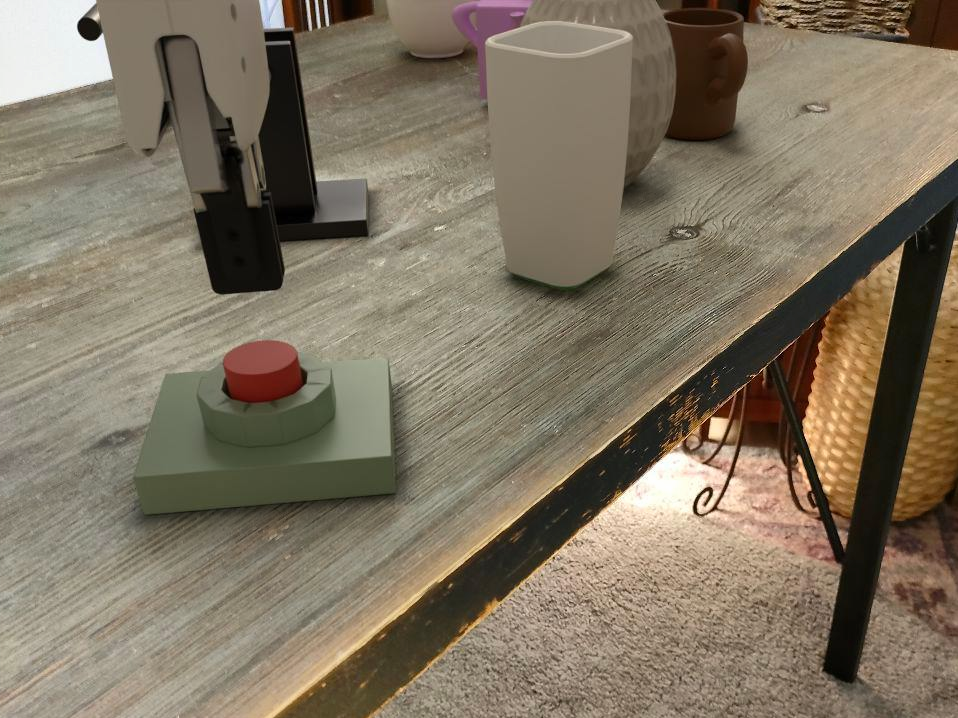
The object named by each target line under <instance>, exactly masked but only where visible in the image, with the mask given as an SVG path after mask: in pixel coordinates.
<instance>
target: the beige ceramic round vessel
mask: <svg viewBox="0 0 958 718" xmlns="http://www.w3.org/2000/svg"><path fill="white" fill-rule="evenodd" d="M474 1H481V0H385V4H386V5H385V6H386V9H387V10H386V11H387V15H388V19H389V23H390V26H391V28H392V30H393V32H394V34H395V37H397V39H398V40H399V42H400V43H401V44H402V45H403V46H405V48H406V49H408V50H409V53H410V55H411V56H414V57H417V58H421V59H422V58H423V59H443V58H451V57H455V56H458V55H460V54H463V52H464V49H465V47H466V46H467V45H468V43H470V41H469V40H468V39H466V38H465V37H464V36H463V35H462V34H461V32H460V31H459V30H458V29H457V27H456V25H455V24H454V22H453V19H452V12H453V10H454V9H455V7H457V6H459V5H461V4H464V3H468V2H474ZM469 19H470V21H471V23H472V25H473V27H474V28H475V29H476V30H477V27H476V11H475V12H472V13H471V14H470V15H469Z"/></svg>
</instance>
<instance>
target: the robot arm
mask: <svg viewBox="0 0 958 718" xmlns="http://www.w3.org/2000/svg"><path fill="white" fill-rule="evenodd" d="M260 2H261V1H260V0H95V4H96V3H97V8H98V12H99V17H100V22H101V26H102V31H103V33H102V36H103V40H104V44H105V48H106V54H107V58H108V62H109V67H110V71H111V76H112V81H113V85H114V90H115V94H116V99H117V103H118V108H119V112H120V117H121V122H122V126H123V130H124V135H125V139H126V141H127V142H126V143H127V145H128V146H129V147H130V149H131V150H132V151H133V152H134V153H136V154H137V155H138V156H140V157H141V158H150V157H152V156H153V155H154V153H155V152H156V150H157V149H158V147H159V145H160V143H161V142H162V139H163V137H164V136H165V133H166V132H167V129H168V128H169V126H170V124H171V127H172V129H173V133H174V138H175V142H176V145H177V149H178V153H179V157H180V160H181V164H182V167H183V168H182V169H183V171H184V175H185V178H186V182H187V186H188V190H189V193H190V197H191V202H192V206H193V213H194V218H195V222H196V226H197V229H198V230H197V231H198V235H199V239H200V244H201V248H202V253H203V256H204V261H205V265H206V269H207V274H208V277H209V282H210V286H211V287H210V288H211V290H212V291H213V293H215V294H218V295H221V296H222V295H234V294H247V293H259V292H260V293H262V292H272V291H273V292H274V291H278V290H280V289H282V287H283V284H284V276H285V271H286V267H285V261H284V256H283V250H282V245H281V241H280V240H279V234H278V229H277V223H276V218H275V213H274V207H273V202H272V196H271V192H264V193H261V192H260V190H266V180H265V173H264V167H263V161H262V155H261V149H260V143H259V137H258V134H259V131H260V128H261V125H262V121H263V118H264V114H265V111H266V107H267V103H268V98H269V89H270V87H269V71H268V62H267V54H266V46H265V37H264V30H263V29H264V23H263V16H262V10H261V9H262V8H261V3H260Z"/></svg>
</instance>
